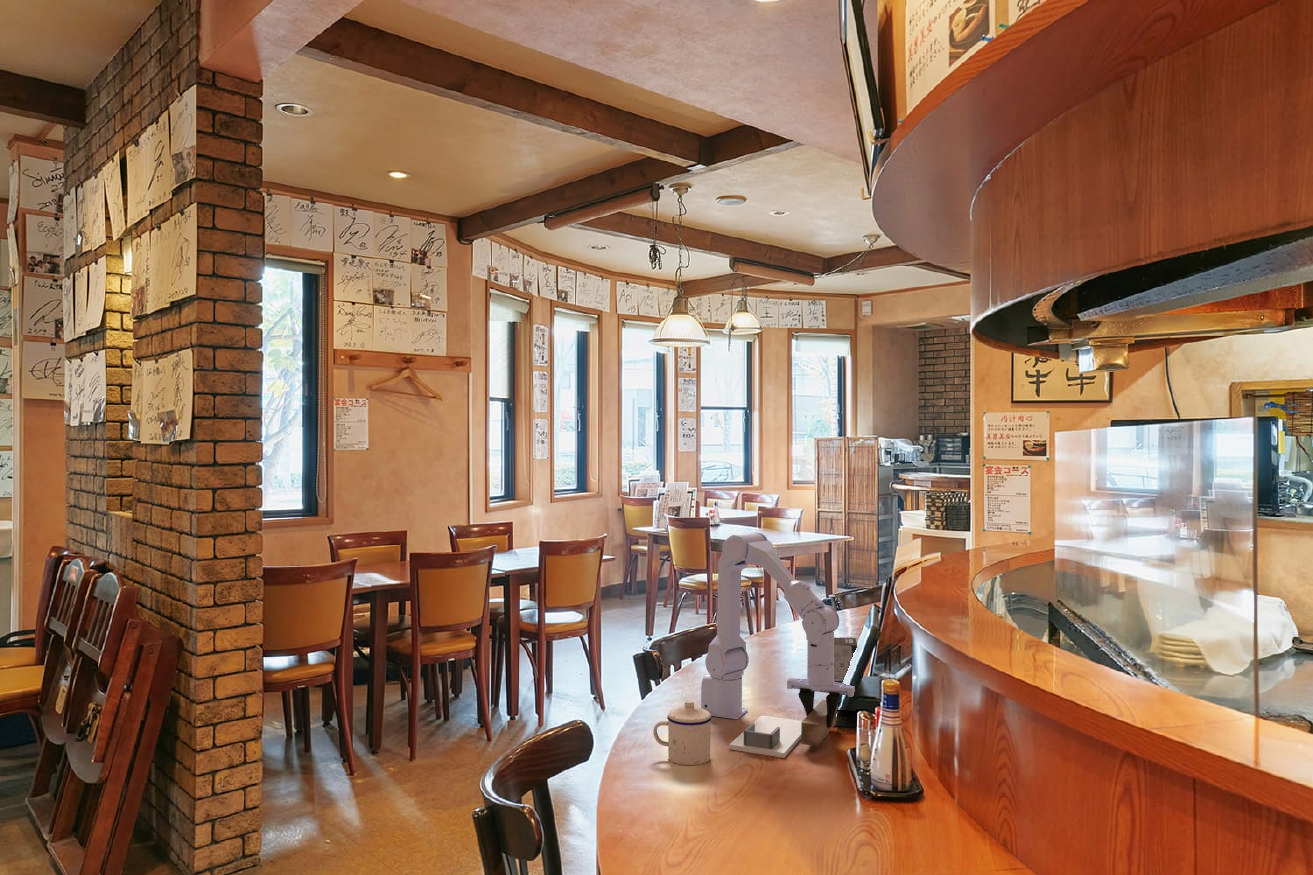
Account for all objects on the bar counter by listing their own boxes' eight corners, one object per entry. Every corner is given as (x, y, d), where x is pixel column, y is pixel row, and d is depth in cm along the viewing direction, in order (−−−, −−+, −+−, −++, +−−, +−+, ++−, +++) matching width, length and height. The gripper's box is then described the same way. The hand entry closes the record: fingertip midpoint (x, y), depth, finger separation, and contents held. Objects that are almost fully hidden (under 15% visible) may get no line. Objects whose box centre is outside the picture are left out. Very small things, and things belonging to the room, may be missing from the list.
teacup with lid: (713, 751, 185) (713, 696, 185) (709, 767, 176) (709, 709, 176) (656, 748, 187) (656, 693, 187) (650, 764, 178) (650, 706, 178)
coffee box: (857, 712, 212) (857, 645, 213) (830, 710, 214) (830, 644, 214) (856, 701, 221) (856, 637, 221) (830, 699, 223) (830, 635, 223)
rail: (801, 743, 185) (801, 722, 185) (822, 719, 202) (822, 699, 202) (817, 746, 184) (817, 724, 184) (837, 721, 200) (837, 701, 200)
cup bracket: (729, 749, 187) (729, 730, 187) (761, 719, 207) (761, 702, 207) (784, 757, 182) (784, 738, 182) (811, 726, 202) (811, 709, 202)
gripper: (783, 663, 192) (782, 725, 192) (849, 670, 186) (849, 735, 186) (792, 656, 199) (791, 716, 199) (856, 663, 192) (856, 725, 192)
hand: (820, 724), depth 193 cm, fingers closed on rail, 3 cm apart
